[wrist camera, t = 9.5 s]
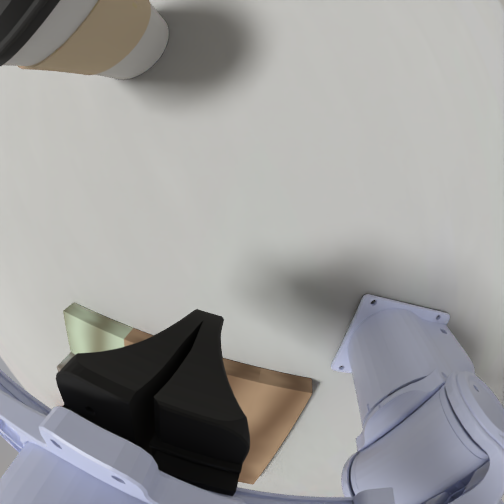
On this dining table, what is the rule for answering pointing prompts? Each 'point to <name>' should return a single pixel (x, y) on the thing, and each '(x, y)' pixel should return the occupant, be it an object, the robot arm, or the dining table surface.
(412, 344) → the robot arm
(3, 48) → the coffee cup
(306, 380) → the board
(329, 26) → the dining table surface
